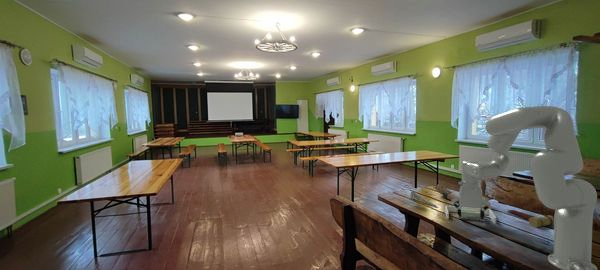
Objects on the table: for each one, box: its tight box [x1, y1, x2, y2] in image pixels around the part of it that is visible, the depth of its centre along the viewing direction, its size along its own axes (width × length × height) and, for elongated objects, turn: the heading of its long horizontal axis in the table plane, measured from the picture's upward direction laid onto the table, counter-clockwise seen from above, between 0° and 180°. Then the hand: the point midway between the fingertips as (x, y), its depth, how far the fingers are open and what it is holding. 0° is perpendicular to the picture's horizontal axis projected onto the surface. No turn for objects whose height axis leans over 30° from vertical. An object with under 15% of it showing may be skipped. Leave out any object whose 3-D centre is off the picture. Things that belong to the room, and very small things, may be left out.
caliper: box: [410, 190, 439, 209], centre depth 169 cm, size 20×1×6 cm, turn 23°
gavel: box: [507, 209, 554, 228], centre depth 138 cm, size 21×5×10 cm
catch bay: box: [444, 204, 497, 224], centre depth 145 cm, size 13×22×3 cm, turn 66°
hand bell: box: [480, 179, 493, 210], centre depth 156 cm, size 8×8×16 cm
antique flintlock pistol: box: [434, 182, 459, 203], centre depth 168 cm, size 6×30×10 cm, turn 18°
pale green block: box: [456, 209, 486, 222], centre depth 143 cm, size 5×12×4 cm, turn 66°
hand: (470, 217), depth 140 cm, fingers open, 9 cm apart
